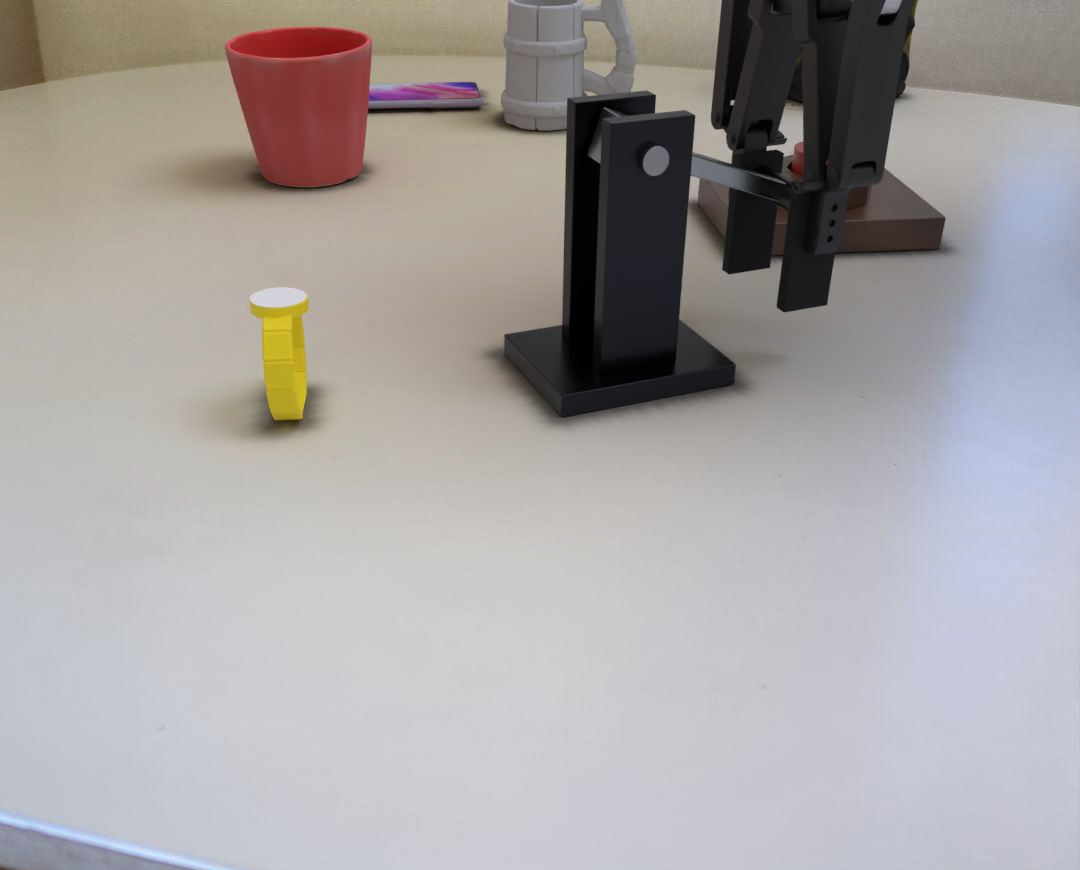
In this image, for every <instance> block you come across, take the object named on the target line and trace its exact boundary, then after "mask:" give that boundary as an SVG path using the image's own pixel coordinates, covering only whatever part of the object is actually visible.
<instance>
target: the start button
mask: <svg viewBox="0 0 1080 870" xmlns="http://www.w3.org/2000/svg"><path fill="white" fill-rule="evenodd" d="M792 153H793V154H792V155H793V160H792V168H791V172H793V173H796V174H799V175H802V176H804V156H803V141H799V142H797V143H795V144H794V146H793V152H792ZM828 160H829V159H828ZM828 160H827V162H826V165H828Z"/></svg>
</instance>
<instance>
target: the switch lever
mask: <svg viewBox="0 0 1080 870" xmlns="http://www.w3.org/2000/svg"><path fill="white" fill-rule="evenodd" d="M622 116H631V115H628V114H624V113H621V112H618V111H615V110H612V109H609V108H606V107H603V109H602V112H601V115H600V118H599V121H598V124H597V127H596V130H595V132H594V135H593V138H592V141H591V144H590V147H589V150H588V153H587V156H589V157H590V158H592V159H593V160H595V161H596V162H598V163H599V164H600V160H601V135H602V119H603V118H613V117H622ZM691 177H694V178H698V179H699V180H700V179H704V180H707V181H710V182H714V183H717V184H720V185H724V186H727V187H730V188H734V189H737V190H740V191H744V192H747V193H750V194H754V195H757V196H761V197H764V198H767V199H769V200H770V201H772V202H774V203H776V204H777V205H779V206H781V207H783V208H784V209H786V210H788V211H789V204H790V196H791V188H792V186H791V181H794V180H792V179H790V178H788V177H786V176H784V175H782V174H781V173H779V172H777V171H775V170H773V169H771V168H769V167H767V166H759V167H757V168H755V169H754V170H753V171H752V170H749V169H746V168H743V167H739V166H736V165H733V164H731V163H730V162H727V161H723V160H721V159H720V160H719V159H717V158H714V157H711V156H707V155H704V154H701V153H697V152H695V151H693V152H692V165H691Z"/></svg>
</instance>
